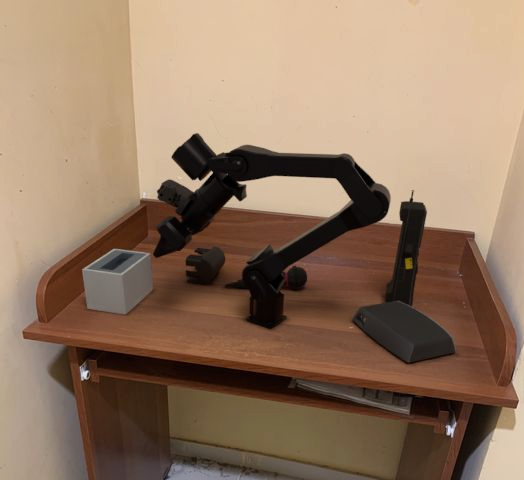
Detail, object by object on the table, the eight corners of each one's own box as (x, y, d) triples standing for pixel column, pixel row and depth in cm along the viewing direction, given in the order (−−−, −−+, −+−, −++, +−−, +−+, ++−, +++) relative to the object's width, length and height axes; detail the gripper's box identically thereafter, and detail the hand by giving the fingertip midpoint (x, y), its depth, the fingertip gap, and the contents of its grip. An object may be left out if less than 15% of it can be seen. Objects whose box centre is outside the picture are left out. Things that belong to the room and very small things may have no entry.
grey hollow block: (150, 253, 118) (113, 248, 120) (122, 274, 106) (81, 269, 108) (152, 289, 122) (117, 285, 124) (125, 314, 111) (87, 308, 112)
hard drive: (398, 313, 117) (401, 296, 115) (458, 354, 102) (463, 335, 100) (349, 321, 112) (351, 304, 110) (404, 365, 97) (408, 346, 95)
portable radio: (412, 311, 118) (434, 200, 106) (385, 308, 119) (404, 197, 107) (410, 297, 125) (431, 191, 112) (385, 294, 126) (403, 189, 113)
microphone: (226, 302, 125) (308, 292, 126) (224, 283, 121) (309, 274, 122) (225, 287, 129) (305, 278, 130) (222, 269, 125) (305, 259, 125)
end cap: (213, 287, 125) (213, 260, 122) (185, 283, 127) (184, 256, 123) (225, 272, 134) (225, 247, 131) (199, 269, 135) (199, 243, 132)
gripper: (197, 158, 108) (153, 208, 116) (161, 176, 92) (113, 234, 100) (234, 198, 110) (189, 245, 118) (206, 223, 94) (156, 275, 102)
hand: (163, 248), depth 109 cm, fingers open, 9 cm apart
